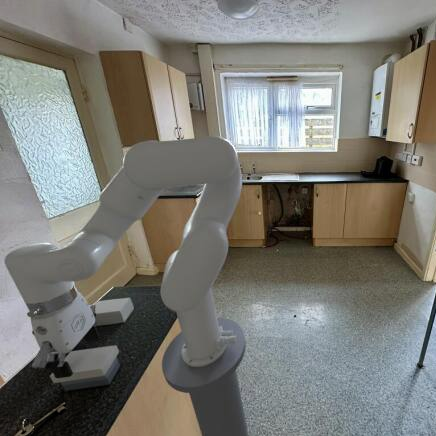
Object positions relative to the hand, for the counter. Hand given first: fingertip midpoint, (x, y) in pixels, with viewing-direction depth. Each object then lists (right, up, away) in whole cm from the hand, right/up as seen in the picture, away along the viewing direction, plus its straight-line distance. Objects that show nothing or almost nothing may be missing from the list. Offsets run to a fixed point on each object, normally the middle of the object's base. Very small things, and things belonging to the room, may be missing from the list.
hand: (80, 356), depth 57 cm
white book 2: (-9, 0, +23) cm, 24 cm away
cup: (-11, -5, +9) cm, 15 cm away
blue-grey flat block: (+1, -5, +2) cm, 6 cm away
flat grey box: (+1, -3, +1) cm, 4 cm away
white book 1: (-10, +2, +22) cm, 24 cm away
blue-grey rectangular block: (+1, -7, +3) cm, 8 cm away
